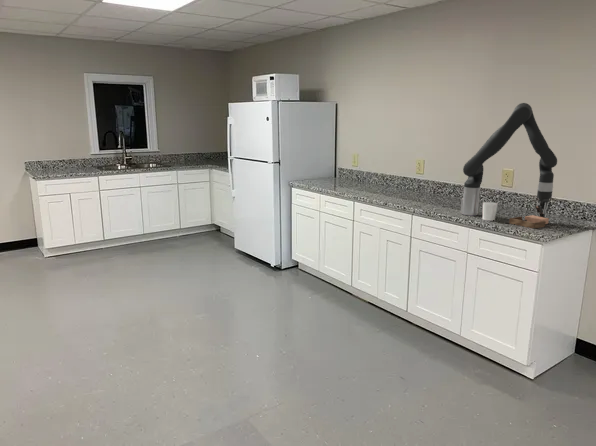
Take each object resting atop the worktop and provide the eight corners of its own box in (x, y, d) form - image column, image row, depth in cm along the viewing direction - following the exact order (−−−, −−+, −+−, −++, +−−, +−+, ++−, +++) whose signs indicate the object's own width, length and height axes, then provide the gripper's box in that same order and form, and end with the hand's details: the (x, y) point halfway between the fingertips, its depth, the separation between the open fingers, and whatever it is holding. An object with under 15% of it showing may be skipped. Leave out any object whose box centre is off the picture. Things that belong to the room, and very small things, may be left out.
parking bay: (509, 223, 264) (509, 218, 263) (520, 221, 269) (520, 216, 268) (533, 228, 251) (534, 223, 251) (545, 226, 257) (545, 221, 256)
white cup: (492, 218, 277) (493, 201, 275) (498, 221, 270) (499, 204, 268) (479, 218, 277) (480, 201, 275) (484, 221, 269) (486, 204, 267)
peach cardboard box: (524, 222, 267) (524, 216, 266) (531, 221, 270) (532, 215, 270) (540, 225, 259) (541, 219, 258) (548, 224, 262) (549, 218, 261)
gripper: (545, 188, 270) (541, 217, 274) (532, 190, 263) (528, 219, 267) (558, 189, 263) (554, 219, 267) (544, 191, 257) (541, 222, 260)
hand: (541, 219), depth 267 cm, fingers closed
